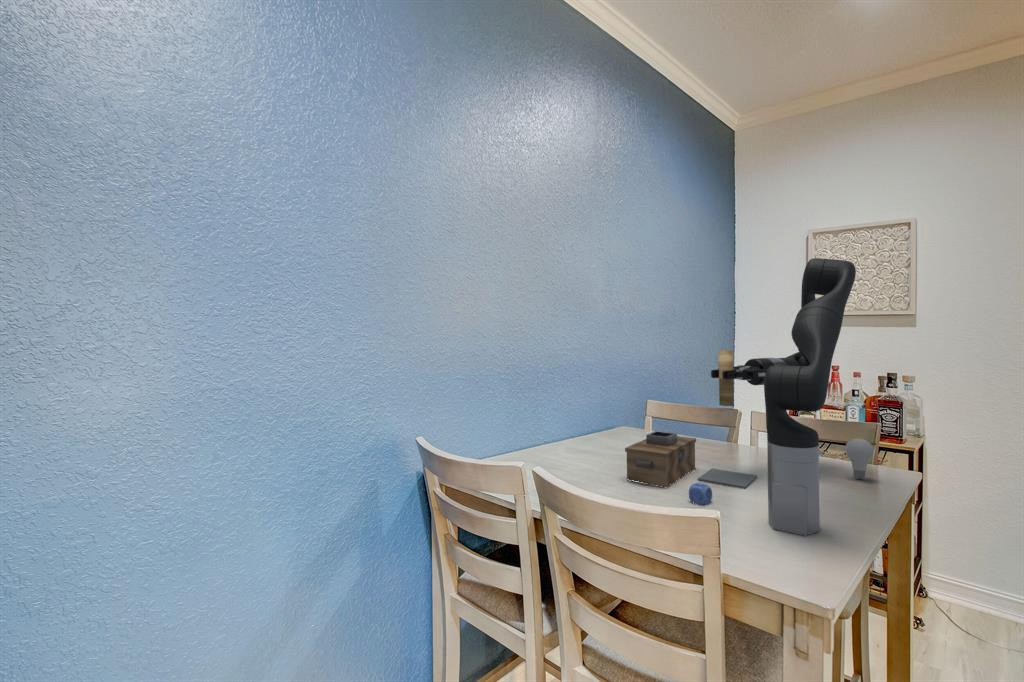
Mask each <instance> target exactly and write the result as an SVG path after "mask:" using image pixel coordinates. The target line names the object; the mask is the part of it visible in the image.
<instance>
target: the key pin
mask: <svg viewBox="0 0 1024 682" xmlns="http://www.w3.org/2000/svg"><path fill="white" fill-rule="evenodd" d="M717 353H718V368H719V378H718V396H719V397H718V398H719V402H718V403H719V406H723V407H724V406H725V407H733V406H735V405H734V404H735V403H734V402H735V395H734V394H735V393H734V392H735V391H734V388H735V386H734V379H723V378H722V372H723V371H731V370H733V366H734V352H733V349H718V352H717Z"/></svg>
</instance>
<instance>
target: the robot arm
mask: <svg viewBox="0 0 1024 682" xmlns="http://www.w3.org/2000/svg"><path fill="white" fill-rule="evenodd" d="M856 272H857V271H856V266H855V264H854V263H853V262H851V261H849V260H845V259H844V260H842V259H841V260H840V259H834V258H833V259H831V258H820V257H818V258H817V257H815V258H810V259H809V260H808V261H807V263H806V265H805V268H804V271H803V275H802V279H801V281H802V282H801V299H800V301H801V302H800V305H801V306H800V307H801V308H800V309H799V310H798V312H797V314H796V316H795V320H794V322H793V325H792V328H791V339H792V341H793V343H794V345H795V347H796V348H797V350H798V351H797V352H795V353H793V354H791V355H788V356H785V357H758V358H751V359H749V360H747V361H746V362H745V363H744V364H741V365H740V364H739V365H737V366H735V365H733V370H731V371H723V372H722V378H723V379H733V380H737V381H738V380H739V381H747V383H748V384H750V385H752V386H763V393H764V405H765V406H764V407H765V424H766V425H765V426H766V427H765V428H766V438H767V441H766V442H767V445H766V447H767V507H768V508H767V509H768V510H767V511H768V512H767V514H768V516H767V517H768V518H767V519H768V524H769V525H771V528H772V529H774V530H778V531H783V532H788V533H791V534H796V535H800V536H806V537H807V536H808V535H812V534H816V533H818V532H820V530H821V529H820V528H821V527H820V522H821V520H820V518H821V517H820V512H821V511H820V461H819V460H820V456H819V455H820V447H819V445H820V444H819V443H820V442H819V441H820V437H819V433H818V431H816V429H814V428H812V427H809V426H807V425H805V424H803V423H801V422H799V421H798V420H795V419H794V418H792V416H790V415H789V413H788V411H796V412H805V413H807V412H808V413H809V412H813V413H814V412H819V411H820V410H821V409H823V407H824V405H825V402H826V400H827V395H828V392H829V391H828V390H829V383H830V381H829V380H830V376H831V367H832V362H833V357H834V353H835V351H836V347H837V343H838V340H839V337H840V333H841V331H842V325H843V320H844V314H845V309H846V305H847V303H848V300H849V297H850V296H851V295H850V294H851V291H852V289H853V287H854V284H855V280H856V275H857V274H856ZM816 295H818V296H819V297H818V298H816ZM710 377H711V378H712V379H719V367H718V368H717V369H711V370H710Z"/></svg>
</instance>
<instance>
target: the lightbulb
mask: <svg viewBox="0 0 1024 682" xmlns="http://www.w3.org/2000/svg"><path fill="white" fill-rule="evenodd" d="M844 450H845V453H846V454H847V457H848V458H849V460H850V462H851V467H852V470H853V476H854V477H855V478H856V479H857V480H863V479H865V478H866V471H867V467H868V464H869V461H870V460H871V459H872V457H873V455H874V447H873V445H872V444H871V443H870V442H869V441H867V440H866V439H863V438H859V437H858V438H857V437H855V438H852V439H849V441H848V442H847V443H846V444H845V449H844Z"/></svg>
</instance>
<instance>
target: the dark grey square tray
mask: <svg viewBox="0 0 1024 682" xmlns="http://www.w3.org/2000/svg"><path fill="white" fill-rule="evenodd" d="M677 436H678V433H676V432H675V433H673V432H667V431H658V430H655V431H652V432H650V433H647V434H646V435H645V437H646V438H645V439H646V444H653V445H660V446H667V447H669V446H671V445H673V444H675V443H677Z"/></svg>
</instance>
